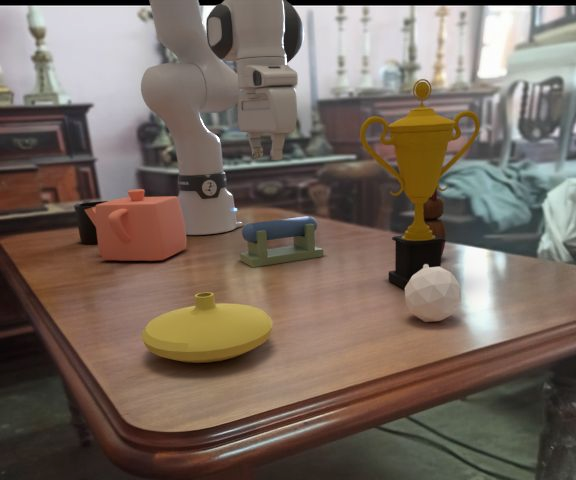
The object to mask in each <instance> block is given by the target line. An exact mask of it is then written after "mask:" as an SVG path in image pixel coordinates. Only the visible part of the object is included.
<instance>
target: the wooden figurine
mask: <svg viewBox="0 0 576 480" xmlns="http://www.w3.org/2000/svg"><path fill="white" fill-rule="evenodd" d="M437 190H438V189H437V188H436V189H435V192H434V194H433V195H432V197H429V199H428V200H427V202H425V203H424V204H423V209H424V211H423V217H424V222H425V224H426V225H427V226H429V227H430V229H429V230H432V234H433V235H436V236H439V237H442V238H444V239H446V238H447V237H446V236H447V233H446V232H447V231H446V224H445V223H444V220H442V219H440V218H441V217H442V216H443V214H444V202H443V200H442V199H441V198H440V197H438V193H437V192H438V191H437ZM446 240H447V239H446ZM445 247H446V241H445V242H442V248H441V257H442V256H443V254H444V250H445Z"/></svg>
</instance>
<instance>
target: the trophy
mask: <svg viewBox="0 0 576 480" xmlns="http://www.w3.org/2000/svg"><path fill="white" fill-rule="evenodd" d="M431 94H432V85H431V82H430V81H429V80H428V79H426V78H420V79H418V80H417V81H415V83H414V84H413V88H412V95H413V97H414V98H415V100H417V101H419V102H420V105H419V106H418V107H416V108H413V109H410V110H409V112H408V113H407V115H406V116H405V117H403V118H400V119H397V120H395V121H393V122H392V123H390V124H389V123H388V121H386V119H384V118H383V117H380V116H377V115H376V116H370V117H368V118H367V119H366V120H365V121H364V122H363V123H362V125H361V127H360V130H359V139H360V142H361V144H362V147H363V149H364V150H365V151H366V152H367V153H368V154H369V155H370V157H372V159H374V161H376V163H377V164H378V165H380V166H381V167H382V169H385V171H387V172H388V173H389V174H390V175H391V176H393V177H394V178H395V179H396V180H397V181H398V182H399V184H400V189H399V191H398V192H396V193H394V192H392V190H390V191H389V193H390V194H391V195H392V196H395V197H397V196H400V195H401V194H402V193H403V192H404V194H405V195H406V197H407V198H408V199H409V201H410V202H411V203H413V204H414V210H413V211H414V218H413V222H412V223H411V224H410V225H409V226H407V230H405V231H404V234H401V235H395V236H392V237H391V240H392V241H393V242H395V257H394V259H395V261H394V263H395V264H394V265H395V268H394V270H389V271H388V281H389V282H391V283H392V284H394V285H396V286H398V287H399V288H402V289H403V290H405V287H406V285H407V284H408V282H409V280H410V279H411V277H412V276H413V275H414V274H415V273H417V272H418V271H420V270H421V269H423V265H425V264H428V265H429V268H430V267H442V266H441V265H442V256H441V248H442V242H445V243H446V241H447V239H444V238H442V237H439V236H436V235H433V234H432V230H429V229H430V227H429V226H427V225H426V224H425V222H424V217H423V211H424V209H423V204H424V203H425V202H427V200H428V199H429V197H432V195H433V194H434V192H435V189H436V188H437V190H438V191H440V192H445V191H446V190H448V188H449V187H450V186H449V185H447V186H446V187H445V188H441V187H440V185H439V182H440V179H441V178H442V176H444V174H445V173H446V172H448V170H449V169H450V168H452V167H453V166H454V164H456V163H457V162H458V160H460V159H461V157H463V155H464V154H465V153H466V152H467V151H468V150H469V148H470V147H471V146H472V145H473V143H474V142H475V140H476V139H477V137H478V135H479V132H480V127H481V124H480V120H479V117H478V115H477V114H476V113H475V112H473V111H471V110H463V111H461V112H459V113H458V114H456V115H455V117H454V118H453V120H452V119H450V118H447V117H445V116H441V115H438V114H437V112H436V111H435V110H434V108H432V107H427V106H425V105H424V103H423V102H425V101H427V100H428V99H429V98H430V96H431ZM462 118H469V119H471V120H473V122H474V130H473V134H472V135H471V137H470V138H469V139H468V141H467V142H465V144H464V146H462V148H461V149H460V150H459V151H457V153H456V154H455V155H454V156H453V157H452V158H451V159H450V160H449V161H448V162H447V163H446V164H445V165H444V162H445V158H446V154H447V151H448V145H449V143H450V142H451V141H457V140H458V139H460V138H461V135H462V131H461V128H460V126H459V122H460V120H461V119H462ZM374 123H380V124H381V125H382V126H383V131H382V133H380V134H381V135H380V136H379V137H380V138H379V140H380V143H381V144H382V145H384V146H393V147H394V154H395V159H396V164H397V168H398V171H397V170H396V169H395V168H394V167H392V165H390V164H389V163H388V162H387V161H385V160H384V159H383V158H382V157H381V156H380V154H378V153H377V152H376V150H374V149H373V148H372V147H371V146H370V144H369V142H368V141H367V138H366V131H367V129H368V127H369V126H370V125H372V124H374ZM388 131H389V139H387V140H386V136H387V134H388ZM454 131H455V135H454ZM443 165H444V166H443Z"/></svg>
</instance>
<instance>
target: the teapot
mask: <svg viewBox="0 0 576 480" xmlns="http://www.w3.org/2000/svg"><path fill="white" fill-rule="evenodd" d="M145 193H146V191H145V189H143V188H136V189H130V190H128V191H127V195H128V196H129V197H121V198H117V199H112V200H107V201H108V202H105V203H101V204H98V205H96V206H95V207H92V208H89V209H85V212H86V213H87V215H88V216H89V218H90V219H91V221H92V222H93V224H94V225H95V227H96V231H97V239H98V244H97V247H98V251H99V253H100V256H101V259H102V260H103V261H119V262H127V261H134V262H135V261H136V262H137V261H146V262H154V261H164V260H166V259H168V258H170V257H172V256H174V255H176V254H178V253H180V252H182V251H184V250H186V249H187V239H188V238H187V235H186V230H185V225H184V219H183V215H182V211H181V207H180V203H179V199H178V195H177V196H175V195H171V196H168V195H167V196H145Z"/></svg>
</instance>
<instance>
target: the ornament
mask: <svg viewBox="0 0 576 480" xmlns="http://www.w3.org/2000/svg"><path fill="white" fill-rule="evenodd" d="M461 287H462V286H461V284H460V283H459V281H458V279H457V278H456V277H455V275H454V274H453V273H452V272H450V271H449V270H447V269H445V268H443V267H442V266H441V267H430V268H429V265H428V264H425V265H423V269H421V270H420V271H418V272H417V273H415V274H414V275H413V276H412V277H411V279H410V280H409V282H408V284H407V285H406V287H405V289H404V299H405V304H406V306H407V308H408V310H409V312H410V313H411V314H412V315H413V316H415V317H417V318H418V319H420V320H421V321H423V322H424V323H431V322H440V321H443V320H445V319H446V318H448V317H450V316H452V315H454V313H455V312H456V310H457V309H458V307H459V305H460V304H461V302H462V290H461V289H462V288H461Z"/></svg>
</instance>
